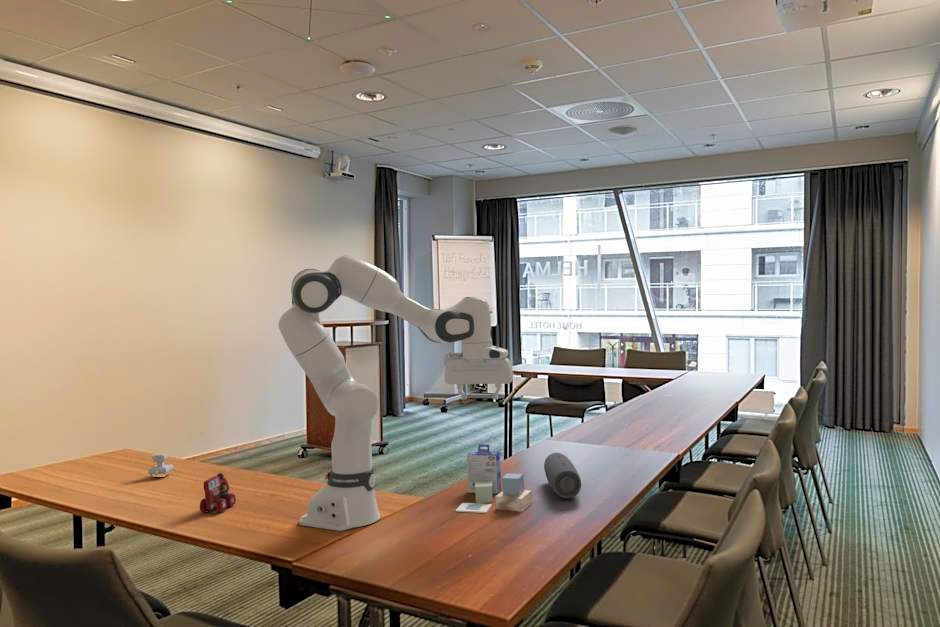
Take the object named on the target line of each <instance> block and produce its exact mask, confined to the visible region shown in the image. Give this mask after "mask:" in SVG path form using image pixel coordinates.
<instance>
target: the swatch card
mask: <svg viewBox="0 0 940 627" xmlns="http://www.w3.org/2000/svg"><path fill="white" fill-rule="evenodd" d="M492 506H493V503H476V502H461V504H460V505H459V506H458V507H457V508H456V509H455V512H457V513H477V514H488V511H489V510H490V509H491V507H492Z"/></svg>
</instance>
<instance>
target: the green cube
mask: <svg viewBox="0 0 940 627" xmlns="http://www.w3.org/2000/svg"><path fill="white" fill-rule="evenodd" d="M474 494H475V503H481V504H493V503H494V502H493V499H494V498H493V493H492V481H489V482H475V493H474Z"/></svg>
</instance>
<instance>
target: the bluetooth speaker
mask: <svg viewBox="0 0 940 627" xmlns="http://www.w3.org/2000/svg"><path fill="white" fill-rule="evenodd" d="M543 469H544V472H545V477H546V480H547V482H548V484H549V485H550V487H551V489H552V490H553V491H554V493H555V494H557V496H559V497H560V498H562V499H563V498H564V499H570V498H574V497H576V496H577V495H579V493H580V491H581V489H582V479H581V477H580V475H579V472H578V470H577V468H576V467H575V465H574V464H573V462H571V460H570V459H569V458H568V457H567V456H566V455H565V454H563V453H560V452H552V453H550V454H549V455H548V456H546V458H545V460H544V463H543Z"/></svg>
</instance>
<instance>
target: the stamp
mask: <svg viewBox="0 0 940 627" xmlns="http://www.w3.org/2000/svg"><path fill="white" fill-rule="evenodd" d="M168 455H169V454H168V452H167V453H166V452H163V453H155V454H153V455H151V459H152V460H153V462H155V463H156V465H154V466H152V467H150V468H149V469H148V472H147V474H148V475H149V476H151V475H152V474H155V475H158V474H167V473H168V472H170V471H171V470H172V471H173V469H174V468H175V466H174V464H172V463H168V464H165V461H166V460H168ZM172 471H171V472H172Z"/></svg>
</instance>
